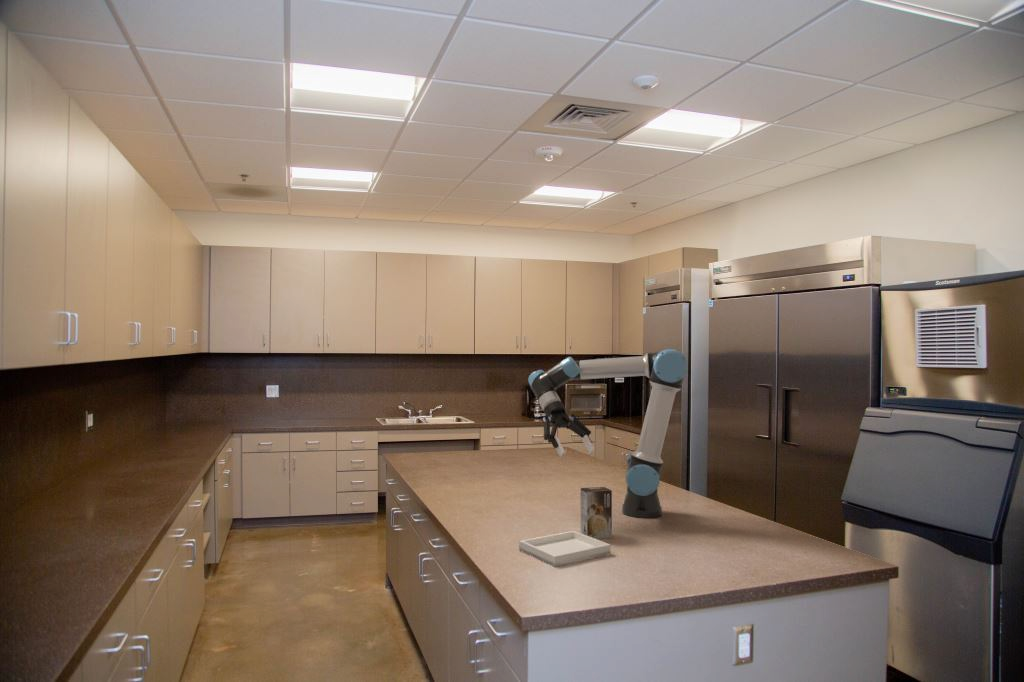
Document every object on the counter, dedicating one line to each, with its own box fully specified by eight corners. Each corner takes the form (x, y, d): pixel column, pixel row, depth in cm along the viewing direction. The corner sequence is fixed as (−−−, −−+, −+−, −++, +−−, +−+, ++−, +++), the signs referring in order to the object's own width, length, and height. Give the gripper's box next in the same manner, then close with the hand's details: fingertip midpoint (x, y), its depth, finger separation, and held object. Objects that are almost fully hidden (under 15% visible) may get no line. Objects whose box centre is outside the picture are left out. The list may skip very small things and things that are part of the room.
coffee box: (604, 532, 227) (605, 486, 227) (612, 538, 220) (612, 490, 221) (579, 534, 224) (580, 487, 224) (586, 539, 218) (587, 491, 218)
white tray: (519, 550, 206) (519, 540, 206) (573, 539, 218) (573, 530, 218) (554, 567, 191) (554, 556, 191) (610, 554, 203) (610, 544, 203)
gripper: (573, 411, 252) (599, 456, 240) (520, 414, 238) (544, 462, 226) (583, 398, 248) (609, 444, 235) (529, 400, 234) (554, 449, 221)
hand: (577, 453), depth 231 cm, fingers open, 13 cm apart
